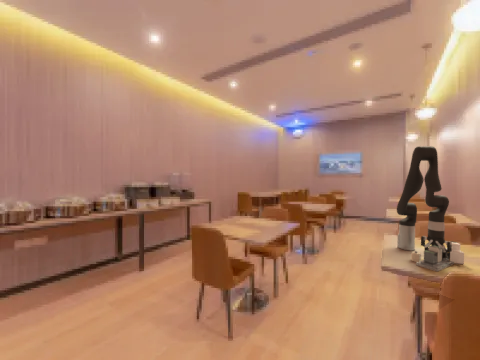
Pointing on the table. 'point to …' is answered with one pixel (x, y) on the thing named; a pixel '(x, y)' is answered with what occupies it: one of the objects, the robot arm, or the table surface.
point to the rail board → (434, 261)
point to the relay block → (415, 256)
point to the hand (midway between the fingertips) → (435, 256)
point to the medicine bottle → (456, 253)
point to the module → (436, 249)
